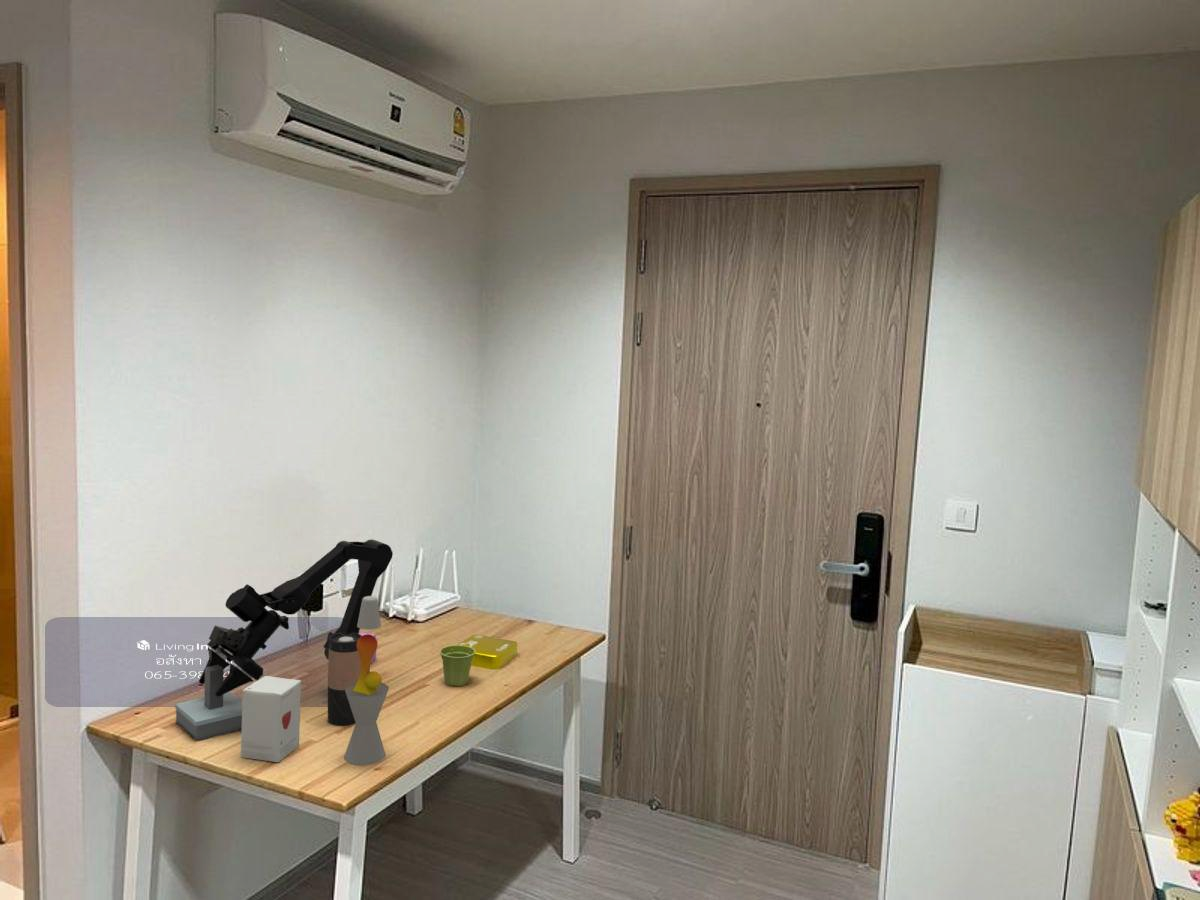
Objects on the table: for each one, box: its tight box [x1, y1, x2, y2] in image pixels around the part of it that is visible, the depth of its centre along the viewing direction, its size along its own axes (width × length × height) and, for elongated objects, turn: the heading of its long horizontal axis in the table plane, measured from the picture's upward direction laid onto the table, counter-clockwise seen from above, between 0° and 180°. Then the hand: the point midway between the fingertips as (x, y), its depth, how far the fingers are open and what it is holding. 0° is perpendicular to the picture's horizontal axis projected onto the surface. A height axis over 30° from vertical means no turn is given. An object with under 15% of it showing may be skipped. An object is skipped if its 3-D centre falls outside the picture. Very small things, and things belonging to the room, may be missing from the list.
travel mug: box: [327, 633, 361, 727], centre depth 209 cm, size 8×8×20 cm
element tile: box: [456, 634, 518, 670], centre depth 257 cm, size 15×15×5 cm
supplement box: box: [240, 675, 302, 764], centre depth 191 cm, size 9×9×15 cm
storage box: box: [175, 708, 242, 742], centre depth 203 cm, size 12×12×4 cm
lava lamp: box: [343, 595, 390, 766], centre depth 191 cm, size 9×9×35 cm
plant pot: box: [439, 644, 476, 687], centre depth 237 cm, size 9×9×9 cm
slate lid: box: [174, 665, 242, 726], centre depth 202 cm, size 12×12×11 cm
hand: (208, 689), depth 201 cm, fingers open, 9 cm apart
